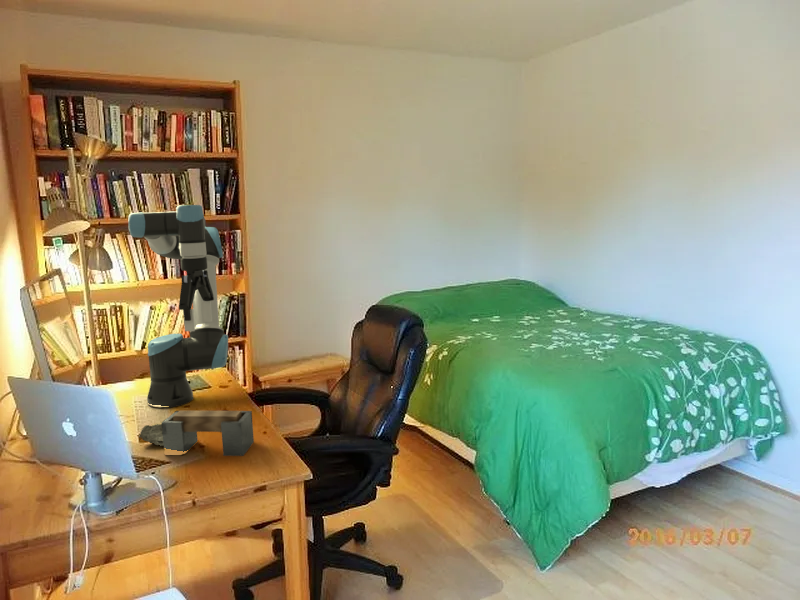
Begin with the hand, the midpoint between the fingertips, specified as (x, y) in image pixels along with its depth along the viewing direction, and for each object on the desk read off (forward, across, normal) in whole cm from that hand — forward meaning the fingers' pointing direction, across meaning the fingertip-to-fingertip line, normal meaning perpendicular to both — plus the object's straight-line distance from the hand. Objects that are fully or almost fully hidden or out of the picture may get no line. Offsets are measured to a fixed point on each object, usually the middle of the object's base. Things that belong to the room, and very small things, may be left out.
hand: (199, 326), depth 186 cm
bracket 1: (+32, +18, 0) cm, 36 cm away
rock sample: (+32, +14, -8) cm, 36 cm away
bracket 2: (+32, +18, +16) cm, 40 cm away
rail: (+26, +18, +8) cm, 32 cm away
